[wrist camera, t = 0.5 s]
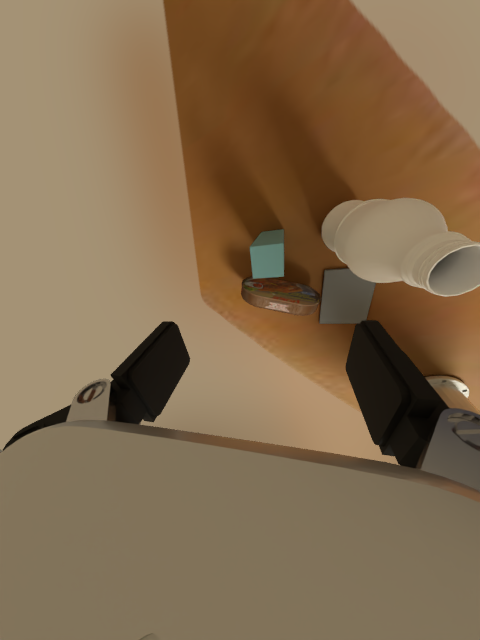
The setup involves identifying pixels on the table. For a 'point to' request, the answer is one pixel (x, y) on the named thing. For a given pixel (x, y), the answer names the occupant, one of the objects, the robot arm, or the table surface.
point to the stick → (268, 254)
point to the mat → (345, 297)
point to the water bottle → (402, 245)
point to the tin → (280, 295)
